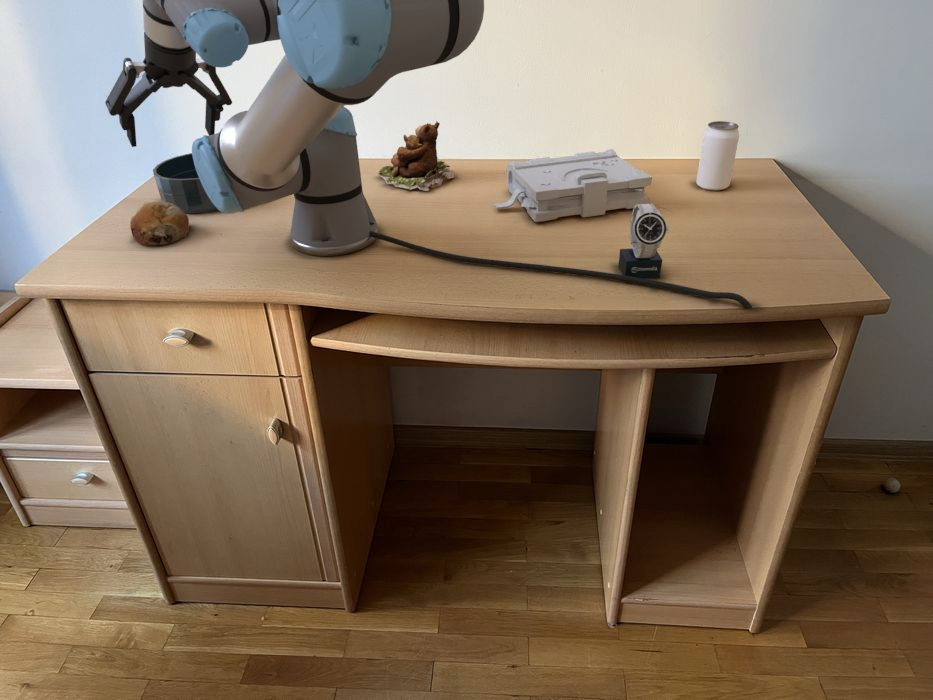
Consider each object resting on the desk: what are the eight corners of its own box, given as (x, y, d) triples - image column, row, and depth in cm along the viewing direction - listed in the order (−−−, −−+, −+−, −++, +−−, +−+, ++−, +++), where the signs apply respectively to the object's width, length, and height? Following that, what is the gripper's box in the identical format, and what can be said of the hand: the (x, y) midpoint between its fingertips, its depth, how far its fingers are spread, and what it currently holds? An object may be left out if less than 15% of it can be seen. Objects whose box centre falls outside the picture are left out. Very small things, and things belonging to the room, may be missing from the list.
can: (731, 191, 133) (743, 130, 126) (697, 190, 134) (708, 129, 127) (726, 180, 138) (737, 120, 132) (693, 179, 139) (703, 120, 132)
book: (481, 193, 136) (480, 155, 132) (608, 176, 142) (611, 140, 138) (510, 230, 121) (511, 189, 117) (652, 210, 127) (657, 170, 122)
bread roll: (201, 245, 128) (199, 202, 127) (172, 246, 118) (169, 199, 117) (151, 245, 129) (149, 202, 128) (119, 245, 119) (116, 198, 118)
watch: (627, 285, 103) (635, 218, 97) (615, 261, 110) (622, 197, 104) (663, 283, 103) (674, 216, 97) (649, 260, 110) (658, 195, 104)
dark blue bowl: (265, 197, 138) (258, 163, 134) (183, 221, 129) (173, 186, 125) (227, 177, 149) (220, 145, 145) (150, 198, 140) (140, 165, 136)
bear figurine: (414, 163, 153) (410, 108, 146) (464, 176, 144) (462, 119, 138) (369, 180, 144) (363, 122, 138) (419, 196, 136) (415, 135, 129)
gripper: (240, 17, 112) (232, 115, 129) (74, 20, 100) (89, 129, 117) (257, 47, 110) (247, 143, 127) (89, 55, 97) (103, 161, 114)
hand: (171, 136), depth 122 cm, fingers open, 13 cm apart
